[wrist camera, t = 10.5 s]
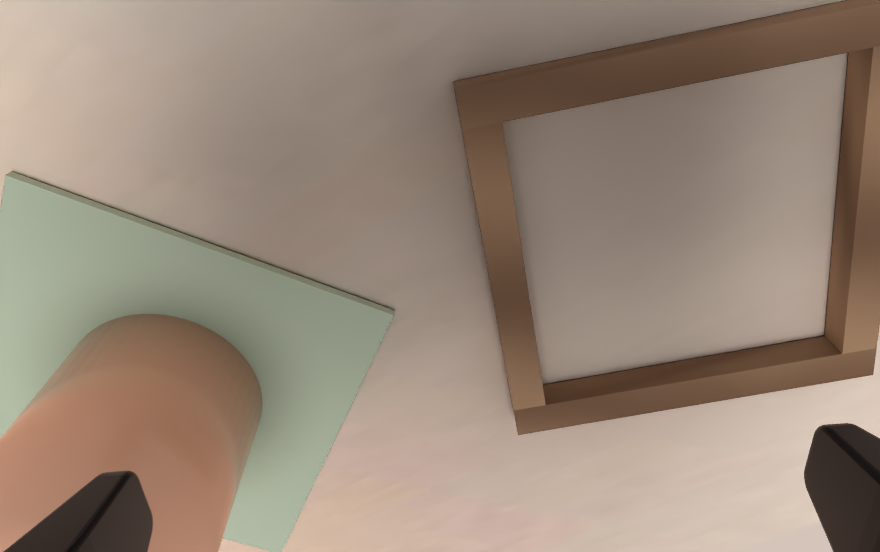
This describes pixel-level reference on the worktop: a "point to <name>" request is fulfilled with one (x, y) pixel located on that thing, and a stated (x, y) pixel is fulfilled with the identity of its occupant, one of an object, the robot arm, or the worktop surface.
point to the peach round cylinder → (138, 429)
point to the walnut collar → (657, 68)
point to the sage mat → (195, 299)
